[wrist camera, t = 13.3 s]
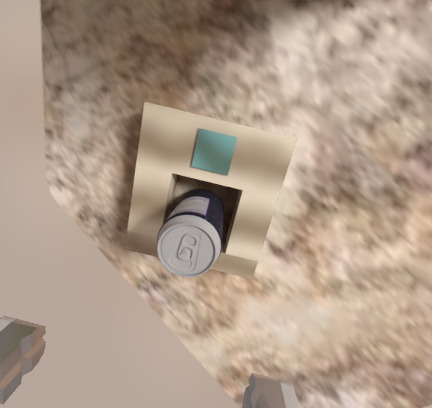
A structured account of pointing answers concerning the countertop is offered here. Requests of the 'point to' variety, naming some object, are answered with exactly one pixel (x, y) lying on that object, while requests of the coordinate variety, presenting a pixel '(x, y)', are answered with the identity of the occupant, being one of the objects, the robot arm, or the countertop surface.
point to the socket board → (207, 179)
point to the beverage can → (192, 234)
